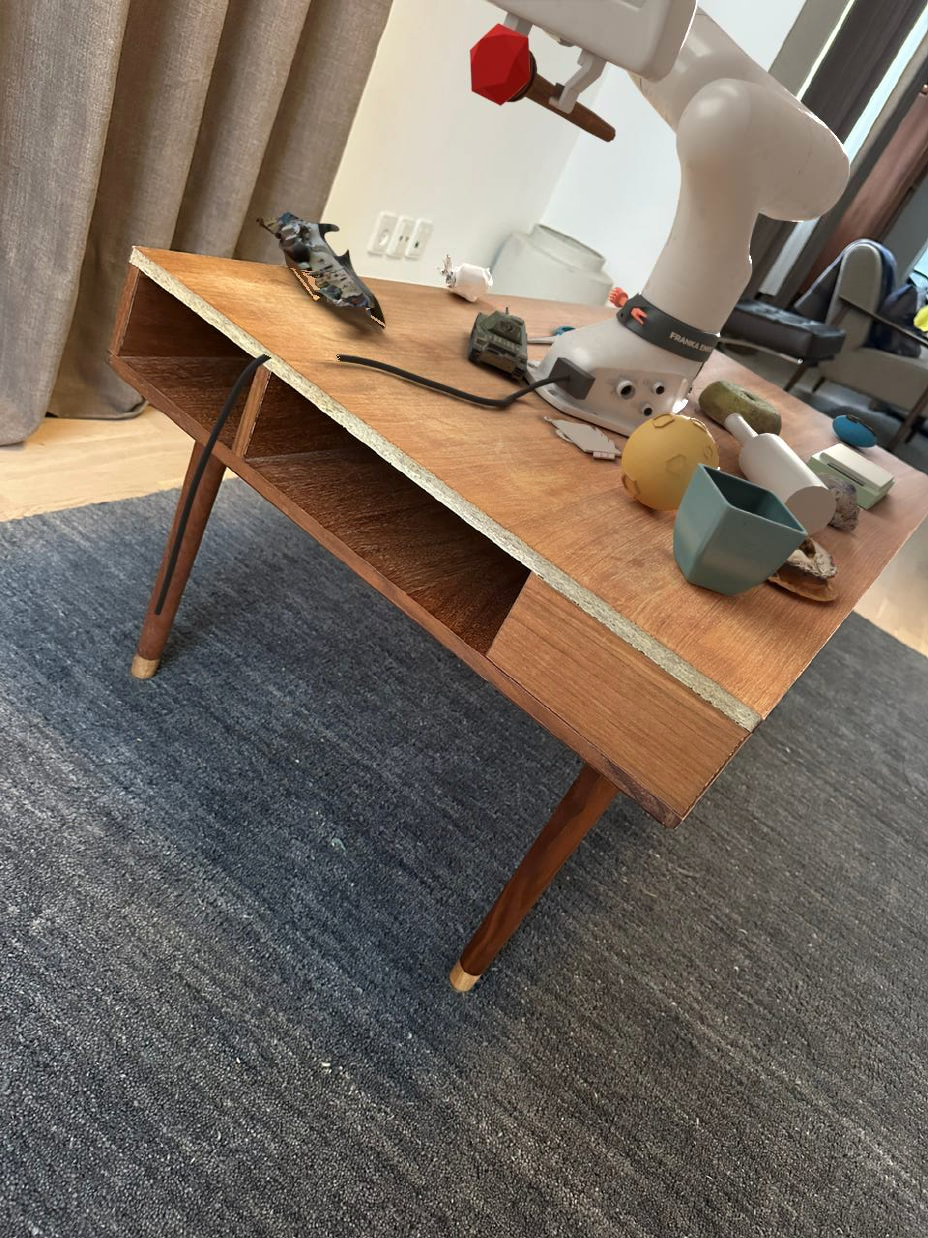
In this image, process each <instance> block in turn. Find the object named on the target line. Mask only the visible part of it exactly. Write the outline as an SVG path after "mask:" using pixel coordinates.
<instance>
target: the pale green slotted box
mask: <svg viewBox="0 0 928 1238" xmlns="http://www.w3.org/2000/svg"><path fill="white" fill-rule="evenodd" d="M805 464H806V466H807V467H808V468H809V469H810V470H811V471H815V472H817V473H827V474H829V475H831V476H833V477H835V478H838V479H841V480H843V481H845V482H848V483H850V484H853V485H854V487H855V488H856V490H857V494H858V495H857V500H858V501H857V506H860V507H862V508H863V509H864V510H866V511H867V510H869V509H870V508H871V507H872V506H874V505H875V504H876V503H877V502H879V501H880V500H881V499H882V498H883V497H885V496H886V495H887V494H888V492H889V491H890V490H891V489H892V487H893V486H894V484H895V483H896V481H895V480H894V479H895V476H896V475H894V474H892V473H890V472H888V471H887V470H885V469H884V468H882V467H880V466H879V465H877V464H875V463H874V462H872V461H871V460H869V459H867V458H866V457H864V456H862V455H860V454H859V453H857V452H856V451H854V450H853V449H851V448H849V447H847V446H846V445H844V444H842V443H838V444H836V445H834V446H831V447H829V448H827V449H825V450H823V451H820V452H818V453H816V454H814V455H811V456H810V458H809V459H808V461H807V462H806V463H805Z"/></svg>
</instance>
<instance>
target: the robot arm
mask: <svg viewBox="0 0 928 1238" xmlns="http://www.w3.org/2000/svg"><path fill="white" fill-rule="evenodd" d="M483 1H484V2H486V3H488V4H491V5H492V6H494V7H496V8H498V9H500V10H502V11H504V12H507V13H506V16H505V18H504V21H503V24H502V25H503V26H505V27H507V28H509V29H511V30H513V31H516V32H518V33H520V34H522V35H524V36H526V37H528V38H529V35H530V33H531V30H532V28H533V26H535V27H537V28H539V29H540V30H542V31H543V33H545V34H546V35H547V36H548V37H550V38H551V39H553V40H554V41H556V42H557V43H558V45H560V46H563V47H567V48H572V47H577V48H579V49H581V51H580V54H579V56H578V58H577V61H576V63H577V65H579V66H580V68H579V69H578V70H577V71H576V72H575V73H574V74H573V75H572V76H571V77H570V78H569V79H568V80H566V81H565V83H561V82H560V81H558V80H556V82H555V87H554V89H553V91H554V93H553V94H552V95H551V96H550V99H549V104H550V105H552V106H554V107H556V108H558V109H560V110H561V111H563V112H566V113H568V114H569V113H570V112H571V111H572V110H573V107H574V105H575V103H576V101H577V100H578V98H579V96H580V93H581V94H582V93H583V92H585V91H586V90H587V89H588V88H589V87H590V86H591V85H592V84H594V83H595V82H596V81H597V80H598V79H600V77H601V76H602V74H603V72H604V69H605V67H606V65H607V62H608V63H609V64H612V65H614V66H616V67H617V68H620V69H622V70H624V71H626V73H627V75H628V77H629V78H630V79H631V81H632V83H633V84H634V85H635V87H636V88H637V90H638V91H639V92H640V94H641V95H642V96H643V98H644V99H645V100H646V101H647V102H648V103H649V105H650V106H651V107H652V108H653V109H654V111H656V113H657V114H658V115H659V117H660V118H661V119H663V121H664V122H665V123H666V124H667V125H668V126H669V128H670V129H671V130H672V131H673V133H674V134H675V135H676V136H675V146H676V147H675V149H676V154H677V157H678V161H679V166H680V186H679V188H680V189H679V194H678V200H677V205H676V210H675V214H674V218H673V222H672V224H671V228H670V231H669V234H668V236H667V238H666V241H665V243H664V245H663V247H662V249H661V251H660V253H659V256H658V258H657V259H656V262H655V264H654V266H653V268H652V270H651V272H650V274H649V277H648V278H647V280H646V282H645V284H644V286H643V288H642V290H641V291H640V292H637V293H635V294H634V295H633V296H632V297H630V298H629V295H628V294H627V292H625V291H624V290H623V289H622V288H621V287H618V286H616V287H614V288H613V289H612V288H611V289H610V291H609V292H608V295H607V297H608V301H609V302H610V303H611V304H613V306H614V307H616V309H617V308H618V311H617V312H616V313H615V317H611V318H608V319H605V320H602V321H599V322H595V323H592V324H589V325H585V326H582V327H579V328H576V329H575V330H571V331H567V332H565V333H563V334H561V335H560V336H559V337H558V338H557V339H556V341H555V342H554V343H551V346H550V347H549V349H548V350H547V351H546V353H545V355H544V356H543V357H542V360H541V361H540V360H535V359H532V358H528V360H527V368H526V370H525V371H524V374H523V377H524V379H526V381H527V382H528V384H529V385H527V386H525V387H524V388H521V389H520V390H517V391H516V392H514V393H512V394H509V395H508V396H507V397H505V398H504V399H495V398H494V399H493V398H486V397H482V396H478V395H475V394H472V393H469V392H466V391H463V390H460V389H458V388H455V387H453V386H450V385H447V384H443V383H442V382H439V381H435V380H432V379H429V378H426V377H424V376H421V375H418V374H415V373H413V372H410V371H407V370H404V369H402V368H399V367H396V366H393V365H392V364H388V363H385V362H382V361H378V360H375V359H370V358H366V357H363V356H358V355H351V354H344V353H343V354H342V353H336V354H337V355H339V356H337V355H336V356H337V358H339V357H340V358H339V359H338V360H340V361H338V363H339V362H340V363H348V364H355V365H361V366H365V367H368V368H369V367H370V368H374V369H377V370H381V371H384V372H387V373H390V374H393V375H396V376H398V377H400V378H401V377H402V378H404V379H406V380H409V381H412V382H414V383H417V384H420V385H422V386H426V387H428V388H432V389H434V390H438V391H440V392H443V393H446V394H449V395H451V396H454V397H457V398H460V399H462V400H466V401H468V402H470V403H471V402H472V403H475V404H478V405H483V406H489V407H496V408H497V407H499V408H503V407H507V406H508V405H510V404H511V403H512V402H514V401H515V400H518V399H519V398H522V397H523V396H526V395H528V394H529V393H531V392H533V391H534V390H535V392H537V394H538V395H539V396H541V398H543V399H544V400H545V401H547V402H548V403H549V404H550V405H552V406H553V407H554V408H556V409H557V410H559V411H561V412H563V413H565V414H568V415H570V416H573V417H575V418H578V419H581V420H584V421H586V422H589V423H591V424H595V425H596V426H600V427H602V428H605V429H608V430H609V431H612V432H615V433H619V434H621V435H623V436H625V437H628V438H630V436H631V435H632V433H633V432H634V431H635V430H636V429H637V428H638V427H639V426H640V425H642V424H643V423H645V422H646V421H648V420H650V419H652V418H654V417H656V416H658V415H660V414H663V413H671V414H672V415H681V412H682V410H683V409H684V408H685V406H686V405H687V403H688V400H687V397H688V394H689V393H688V392H689V390H690V388H691V387H693V384H694V381H695V380H696V379H695V377H696V375H697V373H698V371H699V369H700V368H701V367H702V366H703V367H704V365H705V363H706V362H708V360H709V359H710V357H711V355H712V354H713V352H714V350H715V349H716V347H717V344H718V343H719V342H720V339H721V334H720V333H721V331H722V329H723V327H724V326H725V324H726V322H727V320H728V319H729V317H730V315H731V314H732V311H734V308H735V307H736V306H737V303H738V302H739V300H740V298H741V296H742V295H743V293H744V292H745V289H746V287H747V286H748V285H749V282H750V281H751V277H752V274H753V263H752V259H751V255H750V248H751V240H752V235H753V232H754V228H755V224H756V222H757V218H758V216H759V214H762V215H764V216H766V217H767V218H770V219H773V220H777V221H785V222H802V223H803V222H810V221H813V220H817V219H818V218H820V217H822V216H824V215H825V214H826V213H828V212H829V211H830V210H831V209H832V208H833V207H834V206H835V205H836V204H837V203H838V202H839V200H840V199H841V197H842V196H843V194H844V192H845V190H846V188H847V185H848V182H849V178H850V173H851V172H850V171H851V164H850V158H849V155H848V153H847V151H846V150H845V147H844V146H843V144H842V143H841V141H840V140H839V138H838V137H837V136H836V135H835V133H834V132H833V131H832V129H830V127H828V126H827V125H826V124H825V123H824V122H823V121H822V120H821V119H819V117H818V116H817V115H816V114H815V113H814V112H812V111H811V109H809V108H808V107H807V106H806V105H805V104H804V103H803V102H801V101H800V100H799V99H798V98H797V97H796V96H795V95H793V94H792V93H791V91H789V90H788V89H787V88H786V87H785V86H784V85H783V84H781V83H780V82H779V80H777V79H776V78H775V77H774V76H772V75H771V73H769V72H768V71H767V70H766V69H764V68H763V67H762V66H761V65H760V64H759V63H757V62H756V61H755V60H754V59H753V58H752V56H750V55H749V54H748V53H746V52H745V50H744V49H743V48H741V46H740V45H739V44H738V43H737V42H736V41H735V40H734V39H733V38H732V37H731V36H730V35H729V34H728V33H727V32H726V31H725V30H724V29H723V28H722V26H720V25H719V24H718V23H717V22H716V20H714V19H713V18H712V17H711V16H710V15H709V14H708V13H707V12H706V11H705V10H704V9H702V7H700V6H699V5H698V4H697V3H698V0H483ZM272 359H273V358H271V357H269V356H267V355H265V354H264V353H262V354H260V355H259V356H258V357H256V358H255V359H254V360H252V361H251V362H250V363H249V364H248V365H247V366H246V367H245V368H244V370H243V371H242V373H241V374H240V376H239V377H238V378H237V380H236V382H235V384H234V386H233V388H232V390H231V391H230V394H229V396H228V398H227V400H226V402H225V404H224V406H223V408H222V410H221V412H220V414H219V416H218V418H217V420H216V422H215V425H214V426H213V429H212V431H211V433H210V435H209V437H208V440H207V441H206V444H205V446H204V449H203V451H202V454H201V457H200V459H199V461H198V464H197V466H196V469H195V472H194V474H193V478H192V480H191V483H190V486H189V490H188V493H187V496H186V499H185V502H184V505H183V508H182V512H181V516H180V520H179V523H178V527H177V531H176V535H175V538H174V542H173V546H172V549H171V553H170V556H169V560H168V564H167V568H166V571H165V576H164V578H163V582H162V585H161V589H160V593H159V595H158V598H157V601H156V604H155V608H154V611H153V614H154V615H155V616H160V615H161V614H162V612H163V608H164V605H165V604H166V603H165V602H166V599H167V597H168V593H169V590H170V587H171V583H172V580H173V576H174V573H175V570H176V565H177V562H178V558H179V554H180V552H181V547H182V544H183V540H184V536H185V533H186V529H187V525H188V522H189V518H190V514H191V511H192V508H193V505H194V502H195V498H196V495H197V492H198V489H199V487H200V484H201V481H202V478H203V475H204V472H205V470H206V467H207V464H208V462H209V459H210V457H211V454H212V453H213V450H214V448H215V446H216V443H217V441H218V439H219V436H220V434H221V432H222V430H223V428H224V426H225V424H226V422H227V420H228V417H229V416H230V414H231V412H232V410H233V407H234V405H235V404H236V401H237V400H238V397H239V396H240V393H241V392H242V390H243V388H244V387H245V385H246V383H247V381H248V380H249V378H251V376H252V375H253V373H254V372H255V371H256V370H257V369H259V368H260V367H261V366H262V365H263V364H264V363H266V362H268V361H270V360H272ZM703 364H704V365H703ZM696 378H697V377H696ZM694 379H695V380H694ZM683 407H684V408H683Z"/></svg>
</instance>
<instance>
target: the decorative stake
mask: <svg viewBox="0 0 928 1238" xmlns="http://www.w3.org/2000/svg"><path fill="white" fill-rule="evenodd" d="M529 41H530V39H529V36H528V37H526V36H524V35H522V34H520V33H518V32H516V31H513V30H511V29H509V28H507V27H505V26H503V24H501V23H499V22H497V23H496V24H495V25H494V26H493V27H492V28H491V29H489V30H488V31H487V33H485V34H484V35H483V36H482V37H481V38H480V39H479V40H478V41H477V42H476V43H475V44H474V45H473V46H472V47H471V49H469V64H470V87H471V92H472V93H474V94H476V95H478V96H480V97H482V98H484V99H486V100H488V101H490V102H492V103H494V104H495V105H498V106H499V107H501V106H503V105H504V104H505V103H517V102H519V101H522V100H523V99H524V98H527V99H529V100H530V101H532V102H534V103H535V104H538V105H539V106H541V107H543V108H545V109H546V110H549V111H550V112H552V113H554V114H555V115H558V116H559V117H561V118H563V119H564V120H566V121H567V122H569V123H571V124H573V125H575V126H576V127H578V128H579V129H580V130H583V131H584V132H586V133H588V134H590V135H592V136H594V137H596V138H598V139H600V140H601V141H603V142H606V143H610V142H611V141H614V140H615V137H616V136H617V134H616V133H617V132H616V128H615V127H613V126H612V125H611V124H610V123H609V122H607V121H606V120H605V119H603V118H602V117H601V116H600V115H598V114H597V113H595V112H594V110H591V109H590V108H588V107H587V106H585V105H584V104H582V103H581V102H579V101H577V100H576V103H575V105H574V107H573V110H572V111H571V112H570V113H569V114H568V113H566V112H563V111H561V110H560V109H558V108H556V107H554V106H552V105H550V104H549V99H550V96H551V95H552V94H553V93H554V91H553V89H554V87H555V85H554V84H553V83H552V82H551V81H549V80H547V79H546V78H545V77H543V75H541V74H539V73H538V65H537V59H536V57H535V56H534V53H533V52H532V51H531V50H530V42H529Z"/></svg>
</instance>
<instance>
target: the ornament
mask: <svg viewBox="0 0 928 1238" xmlns="http://www.w3.org/2000/svg"><path fill="white" fill-rule="evenodd" d="M831 424H832V425H831V426H832V427H831V428H832V430H833V432H834V433H835V435H837V437H838V438H839V439H841V440H842V441H843V442H845V443H847V444H849V445H852V446H854V447H857V448H858V447H859V448H865V449H866V448H867V449H869V448H874V447H876V445H877V443H878V441H877V434H876V432H875V431H874V429H873V428H872V427H869V426H868V425H867V422H866V421H865V420H863V419H861V418H859V417H857V416H854V415H852V414H847V415H845V414H844V415H838V416H836V417H835V418H834V419H833V420H832V422H831Z"/></svg>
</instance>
